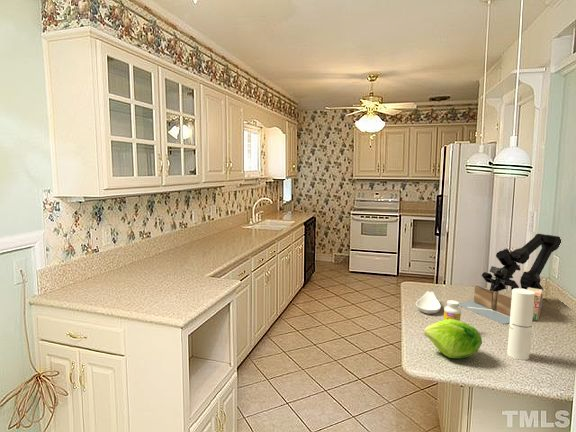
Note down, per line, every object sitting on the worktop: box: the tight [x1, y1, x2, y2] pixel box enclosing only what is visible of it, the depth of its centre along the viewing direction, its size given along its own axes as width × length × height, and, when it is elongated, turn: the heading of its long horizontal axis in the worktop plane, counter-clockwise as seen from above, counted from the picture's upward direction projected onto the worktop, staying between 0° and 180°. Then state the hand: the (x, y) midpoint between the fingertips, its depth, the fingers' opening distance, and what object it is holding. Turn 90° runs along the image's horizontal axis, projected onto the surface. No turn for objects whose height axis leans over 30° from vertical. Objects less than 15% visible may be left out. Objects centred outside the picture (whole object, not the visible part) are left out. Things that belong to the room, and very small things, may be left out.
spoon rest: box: [415, 290, 442, 315], centre depth 196 cm, size 24×12×7 cm, turn 158°
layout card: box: [458, 300, 510, 325], centre depth 192 cm, size 16×29×1 cm, turn 20°
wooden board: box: [473, 285, 493, 308], centre depth 199 cm, size 2×11×8 cm, turn 20°
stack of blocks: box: [527, 287, 544, 321], centre depth 190 cm, size 21×6×12 cm, turn 143°
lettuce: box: [423, 319, 483, 359], centre depth 145 cm, size 15×20×14 cm
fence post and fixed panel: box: [492, 291, 512, 317], centre depth 187 cm, size 2×15×10 cm, turn 20°
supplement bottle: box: [443, 299, 462, 321], centre depth 168 cm, size 7×7×13 cm
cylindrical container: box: [506, 287, 535, 361], centre depth 144 cm, size 7×7×25 cm
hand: (490, 293), depth 198 cm, fingers closed
